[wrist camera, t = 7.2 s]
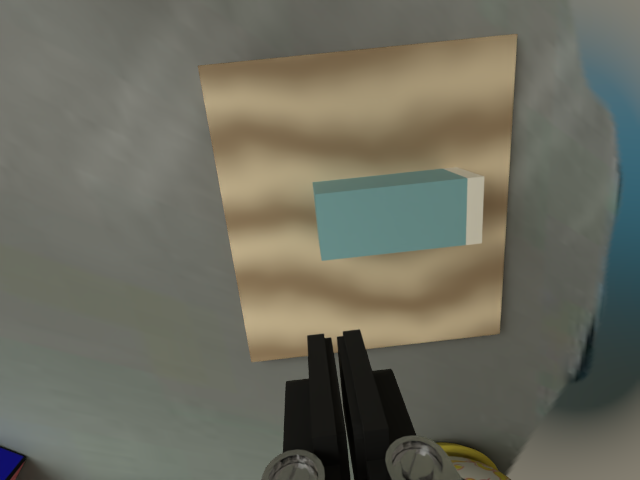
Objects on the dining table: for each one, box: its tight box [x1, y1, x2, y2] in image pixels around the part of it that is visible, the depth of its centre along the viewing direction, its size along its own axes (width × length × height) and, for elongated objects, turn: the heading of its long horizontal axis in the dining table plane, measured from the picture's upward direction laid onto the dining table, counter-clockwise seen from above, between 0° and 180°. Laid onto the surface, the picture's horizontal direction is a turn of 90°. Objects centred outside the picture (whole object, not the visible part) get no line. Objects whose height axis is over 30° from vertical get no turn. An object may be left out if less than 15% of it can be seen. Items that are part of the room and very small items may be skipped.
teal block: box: [312, 167, 484, 261], centre depth 30 cm, size 5×5×12 cm
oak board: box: [198, 34, 517, 362], centre depth 33 cm, size 26×24×1 cm
